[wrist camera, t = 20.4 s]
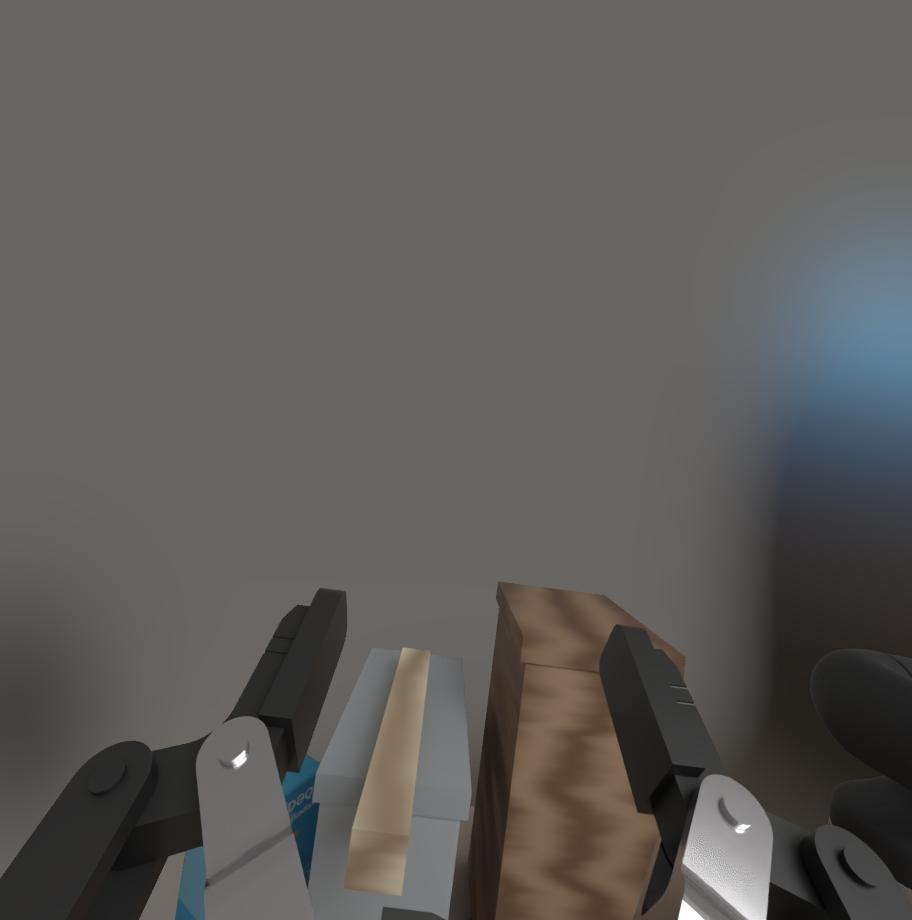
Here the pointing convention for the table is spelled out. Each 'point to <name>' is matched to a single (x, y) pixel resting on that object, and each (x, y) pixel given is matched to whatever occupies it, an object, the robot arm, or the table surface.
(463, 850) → the table surface
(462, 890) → the table surface
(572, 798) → the wooden column with lip
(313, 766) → the data package
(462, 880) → the table surface
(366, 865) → the birch rod
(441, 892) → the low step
